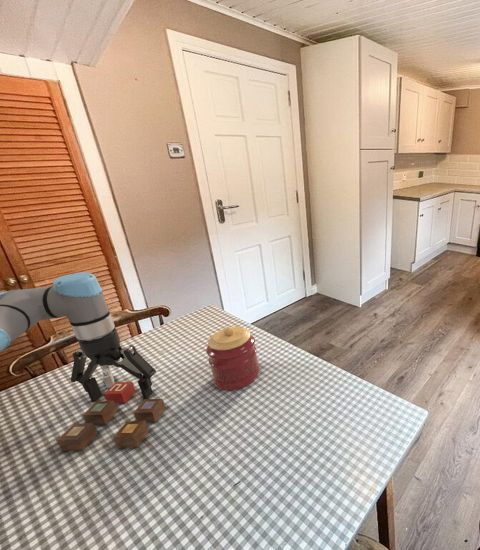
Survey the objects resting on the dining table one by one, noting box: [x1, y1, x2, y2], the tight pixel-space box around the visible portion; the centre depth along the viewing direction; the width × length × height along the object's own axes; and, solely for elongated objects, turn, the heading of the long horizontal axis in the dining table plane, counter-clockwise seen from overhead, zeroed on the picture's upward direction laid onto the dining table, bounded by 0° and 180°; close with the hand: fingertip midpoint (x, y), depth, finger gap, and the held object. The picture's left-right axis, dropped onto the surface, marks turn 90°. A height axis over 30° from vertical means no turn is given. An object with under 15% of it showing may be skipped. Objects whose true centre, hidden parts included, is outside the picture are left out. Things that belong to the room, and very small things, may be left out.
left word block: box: [81, 400, 119, 426], centre depth 77 cm, size 4×4×4 cm
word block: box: [56, 422, 99, 452], centre depth 70 cm, size 4×4×4 cm
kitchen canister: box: [205, 325, 260, 392], centre depth 89 cm, size 13×13×18 cm
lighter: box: [100, 365, 115, 390], centre depth 88 cm, size 7×2×8 cm, turn 41°
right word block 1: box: [112, 420, 150, 449], centre depth 71 cm, size 4×4×4 cm
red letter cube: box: [103, 381, 136, 405], centre depth 83 cm, size 4×4×4 cm
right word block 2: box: [133, 398, 166, 424], centre depth 77 cm, size 4×4×4 cm
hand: (123, 398), depth 84 cm, fingers open, 13 cm apart
